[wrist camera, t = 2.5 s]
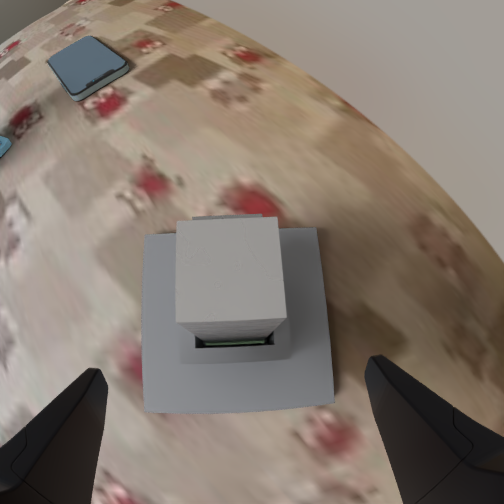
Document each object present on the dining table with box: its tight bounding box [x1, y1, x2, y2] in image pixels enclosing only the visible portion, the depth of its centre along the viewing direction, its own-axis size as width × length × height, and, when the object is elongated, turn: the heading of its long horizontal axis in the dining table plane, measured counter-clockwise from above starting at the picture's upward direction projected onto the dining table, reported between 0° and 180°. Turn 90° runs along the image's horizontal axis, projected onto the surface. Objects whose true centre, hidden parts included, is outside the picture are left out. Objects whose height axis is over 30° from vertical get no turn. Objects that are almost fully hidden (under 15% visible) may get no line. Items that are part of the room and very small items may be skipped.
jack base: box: [142, 227, 335, 414], centre depth 18 cm, size 12×12×6 cm
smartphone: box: [47, 36, 129, 101], centre depth 30 cm, size 8×2×15 cm
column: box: [175, 214, 287, 346], centre depth 14 cm, size 4×3×10 cm
